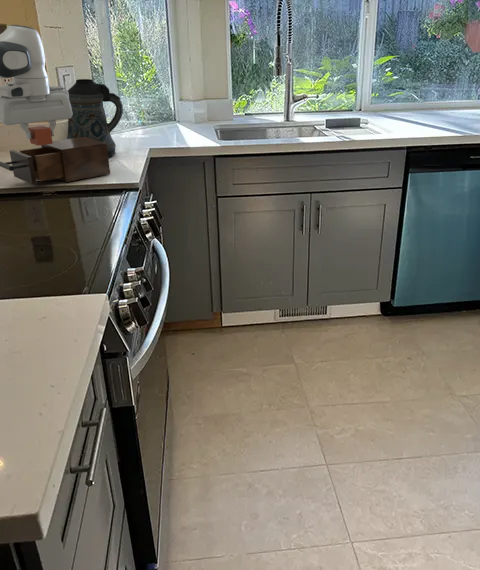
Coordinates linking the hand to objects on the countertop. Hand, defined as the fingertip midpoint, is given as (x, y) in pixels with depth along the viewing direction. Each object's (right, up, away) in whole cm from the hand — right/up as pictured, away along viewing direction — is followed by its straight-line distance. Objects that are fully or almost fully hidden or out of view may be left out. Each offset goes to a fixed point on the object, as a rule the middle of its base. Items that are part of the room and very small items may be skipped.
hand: (40, 137), depth 172 cm
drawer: (-2, -11, +3) cm, 12 cm away
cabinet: (+6, -8, +12) cm, 16 cm away
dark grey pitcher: (+3, +3, +36) cm, 36 cm away
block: (0, -2, +1) cm, 2 cm away
